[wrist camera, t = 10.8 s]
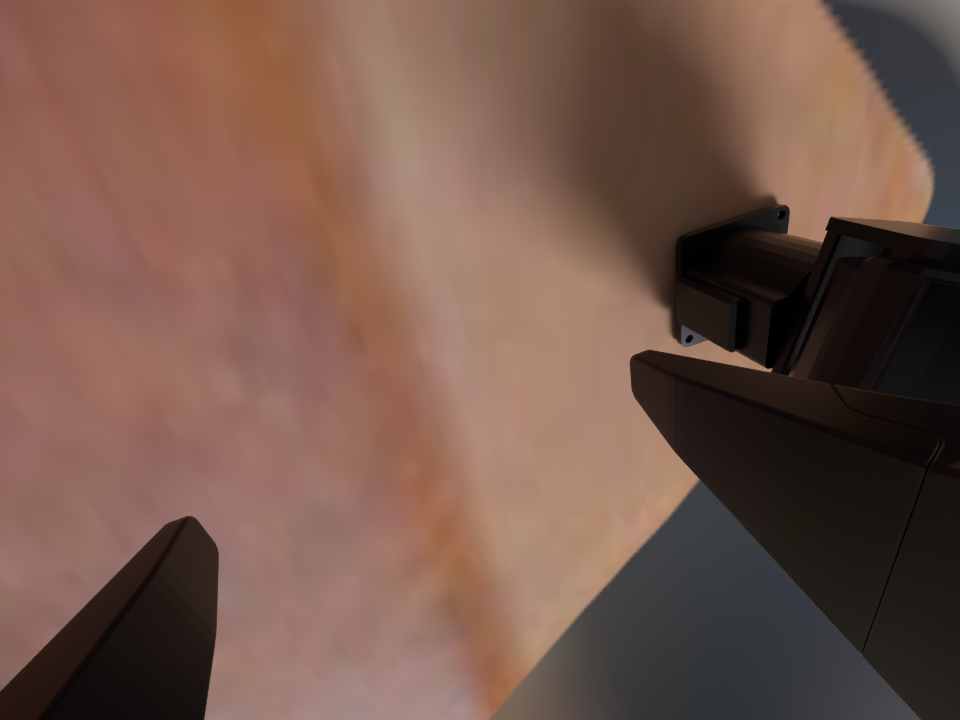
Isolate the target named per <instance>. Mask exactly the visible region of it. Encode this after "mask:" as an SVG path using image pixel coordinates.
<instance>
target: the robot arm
mask: <svg viewBox="0 0 960 720" xmlns="http://www.w3.org/2000/svg"><path fill="white" fill-rule="evenodd" d="M778 214H779V216H778ZM789 214H790V210H789V207H788V206H786V205H781V204H777V205H773V206H770V207H767V208H764V209H761V210H758V211H755V212H752V213H749V214H746V215H743V216H740V217H736V218H733V219H730V220H727V221H724V222H721V223H718V224H715V225H712V226H709V227H706V228H703V229H699V230H696V231H693V232H690V233H687V234H684V235H683V236H681V237H680V238H679V239H678V241H677V244H676V321H677V341H678V343H679V344H681V345H682V346H684V347H689V346H692V345H695V344H698V343H700V342H703V341H706V340H709V341H711V342H713V343H715V344H716V345H718V346H720V347H722V348H723V349H725V350H727V351H729V352H735V351H736V352H738V353H740V354H742V355H744V356H745V357H747V358H749V359H751V360H753V361H754V362H756V363H758V364H760V365H762V366H763V367H765V368H767V369H770V368H772V371H771V373H770V372H765V371H760V370H754V369H749V368H744V367H738V366H733V365H728V364H723V363H717V362H712V361H707V360H701V359H696V358H691V357H686V356H680V355H675V354H670V353H664V352H659V351H654V350H646V351H643V352H641V353H638V354H635V355H633V356H632V357H631V359H630V374H631V387H632V392H633V395H634V397H635V399H636V400H637V401H638V403H639V404H640V406H641V407H642V408H643V410H644V411H645V412H646V414H647V415H648V416H649V418H650V419H651V421H652V422H653V423H654V425H655V426H656V427H657V429H658V430H659V431H660V433H661V434H662V436H663V437H664V438H665V440H666V441H667V442H668V444H669V445H670V446H671V448H672V449H673V450H674V451H675V453H676V454H677V455H678V456H679V457H680V458H681V459H682V461H683V462H684V463H685V464H686V465H687V466H688V467H689V468H690V469H691V470H692V471H693V472H694V474H695V475H696V476H697V477H698V478H699V479H700V480H701V481H702V482H703V483H704V484H705V485H706V486H707V488H708V489H709V490H710V491H711V492H712V493H713V494H714V495H715V496H716V497H717V498H718V500H719V501H720V502H721V503H722V504H723V505H724V506H725V507H726V508H727V509H728V510H729V512H730V513H731V514H732V515H733V516H734V517H735V518H736V519H737V520H738V521H739V522H740V523H741V525H742V526H743V527H744V528H745V529H746V530H747V531H748V532H749V533H750V534H751V535H752V536H753V537H754V539H755V540H756V541H757V542H758V543H759V544H760V545H761V546H762V547H763V548H764V550H765V551H767V553H768V554H769V555H770V556H771V557H772V558H773V559H774V560H775V561H776V563H777V564H778V565H779V566H780V567H781V568H782V569H783V570H784V571H785V572H786V573H787V574H788V576H789V577H790V578H791V579H792V580H793V581H794V582H795V583H796V584H797V585H798V586H799V587H800V589H801V590H802V591H803V592H804V593H805V594H806V595H807V596H808V597H809V598H810V599H811V600H812V602H813V603H814V604H815V605H816V606H817V607H818V608H819V609H820V610H821V611H822V612H823V614H824V615H825V616H826V617H827V618H828V619H829V620H830V621H831V622H832V623H833V624H834V626H835V627H836V628H837V629H838V630H839V631H840V632H841V633H842V634H843V635H844V636H845V637H846V638H847V640H849V642H850V643H851V644H852V645H853V646H854V647H855V648H856V649H857V650H858V651H859V652H860V653H862V656H863V657H864V659H865V660H866V661H867V662H868V663H869V664H870V665H871V666H872V667H873V668H874V669H875V670H876V672H877V673H878V674H879V675H880V676H881V677H882V678H883V679H884V680H885V681H886V682H887V684H888V685H889V686H890V687H891V688H892V689H893V690H894V691H895V692H896V693H897V694H898V695H899V697H900V698H901V699H902V700H903V701H904V702H905V703H906V704H907V705H908V706H909V707H910V708H911V710H912V711H913V712H914V713H915V714H916V715H917V716H918V717H919V718H920V719H921V720H960V229H954V228H947V227H940V226H933V225H926V224H920V223H913V222H903V221H888V220H873V219H858V218H843V217H830V219H829V222H828V224H827V227H826V229H825V230H827V234H826V236H825V239H824V241H823V243H822V242H818V241H813V240H809V239H805V238H801V237H797V236H792V235H788V234H787V232H788V223H789ZM777 216H778V217H777ZM688 241H689V245H688V246H687V247H686V248H685V246H686V243H687V242H688ZM687 336H688V338H687V339H686V337H687ZM685 339H686V340H685ZM218 566H219V553H218V549H217V546H216V544H215V542H214V541H213V540H212V538H211V537H210V536H209V534H208V533H207V532H206V530H205V529H204V528H203V527H202V525H201V524H200V523H199V521H198V520H197V519H196V518H194V517H192V516H186V517H183V518H180V519H178V520H175V521H172V522H169V523H168V524H166V525H165V526H164V527H163V528H162V529H161V530H160V531H159V532H158V533H157V534H156V535H155V536H154V537H153V538H152V539H151V540H150V541H149V542H148V543H147V544H146V545H145V546H144V547H143V548H142V549H141V550H140V551H139V552H138V553H137V554H136V555H135V556H134V557H133V558H132V559H131V560H130V561H129V562H128V563H127V564H126V565H125V566H124V567H123V568H122V569H121V570H120V571H119V572H118V573H117V574H116V575H115V576H114V577H113V578H112V579H111V580H110V581H109V582H108V583H107V584H106V585H105V586H104V587H103V588H102V589H101V590H100V591H99V592H98V593H97V594H96V595H95V596H94V597H93V598H92V599H91V600H90V601H89V602H88V603H87V604H86V605H85V606H84V607H83V608H82V609H81V610H80V611H79V612H78V613H77V614H76V615H75V617H74V618H73V619H72V620H71V621H70V622H69V623H68V624H67V625H66V626H65V627H64V628H63V629H62V630H61V631H60V632H59V633H58V634H57V635H56V636H55V637H54V638H53V639H52V640H51V641H50V642H49V643H48V644H47V645H46V646H45V647H44V648H43V649H42V650H41V651H40V652H39V653H38V654H37V655H36V656H35V657H34V658H33V659H32V660H31V661H30V662H29V663H28V664H27V665H26V666H25V667H24V668H23V669H22V670H21V671H20V672H19V673H18V674H17V675H16V676H15V677H14V678H13V679H12V680H11V681H10V682H9V683H8V684H7V685H6V686H5V687H4V688H3V689H2V690H1V691H0V720H204V718H205V711H206V704H207V697H208V690H209V683H210V676H211V669H212V662H213V655H214V648H215V639H216V628H217V600H218Z"/></svg>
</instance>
